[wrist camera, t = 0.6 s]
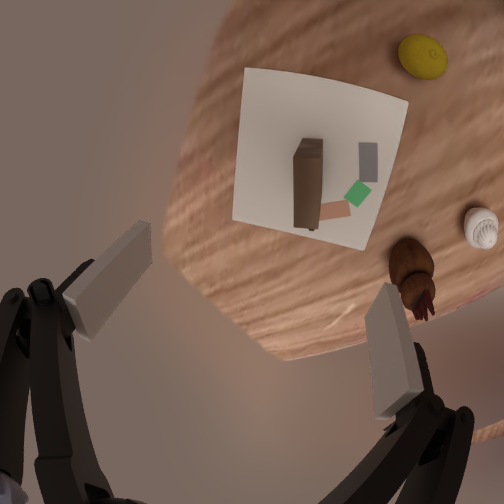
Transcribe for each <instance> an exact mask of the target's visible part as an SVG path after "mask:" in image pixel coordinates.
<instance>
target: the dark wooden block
mask: <svg viewBox="0 0 504 504" xmlns="http://www.w3.org/2000/svg"><path fill="white" fill-rule="evenodd" d="M322 177H323V139H314V138H302V140H301V142H300V144H299V146H298V148H297V150H296V152H295V154H294V156H293V200H294V228H306V229H309V231H314V230H315V229H318V226H319V217H320V208H321V198H322Z"/></svg>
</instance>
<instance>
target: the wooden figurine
mask: <svg viewBox="0 0 504 504" xmlns="http://www.w3.org/2000/svg"><path fill="white" fill-rule="evenodd" d="M433 272H434V263H433V260H432V257H431V256H430V254H429V253H428V251H427V250H426V249H425V247H424V246H422V245H421V244H420V243H419V242H418V241H416V240H412V239H408V240H404V241H402V242H400V243H399V244H398V245H396V247H395V248H394V250H393V252H392V255H391V257H390V260H389V273H390V279H391V282H392V284H393V285H396V286H397V289H398V292H400V293H401V299H402V302H403V305H404V306H405V308H407V309H408V310H411V311H412V312H413V314H414V317H415V319H416V320H419V319H420V320H423V316H424V319H425V321H428V313H427V308H428V309H429V311H430V312H431V314H432V315H433V316H434V315H435V312H434V307H433V303H432V301H433V299H434V297H435V290H436V289H435V285H434V282H433V280H432V279H431V278H432V277H433Z"/></svg>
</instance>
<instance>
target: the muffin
mask: <svg viewBox="0 0 504 504" xmlns="http://www.w3.org/2000/svg"><path fill="white" fill-rule="evenodd" d="M464 231H465V238H466V240H467V242H468V243H469V244H470V245H471V246H472V247H475V248H483V249H489V248H492V246H494V244H495V243H496V240H497V239H498V237H497V236H498V233H497V232H498V219H497V217H496V215H495V214H494V213H493V212H492V211H491V210H489V209H485V208H482V207H481V208H471V209H470V210H468V211H467V213H466V215H465V220H464Z"/></svg>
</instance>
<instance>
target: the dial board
mask: <svg viewBox="0 0 504 504" xmlns="http://www.w3.org/2000/svg"><path fill="white" fill-rule="evenodd" d="M408 103H409V102H407V101H405V100H402V99H399V98H396V97H393V96H390V95H387V94H384V93H381V92H377V91H374V90H371V89H367V88H364V87H360V86H356V85H352V84H348V83H344V82H340V81H336V80H331V79H326V78H321V77H316V76H311V75H305V74H299V73H292V72H285V71H277V70H269V69H258V68H245V71H244V81H243V91H242V102H241V113H240V124H239V135H238V147H237V159H236V172H235V185H234V199H233V213H232V220H235V221H240V222H244V223H249V224H253V225H258V226H262V227H267V228H271V229H275V230H280V231H284V232H288V233H293V234H297V235H301V236H305V237H309V238H314V239H318V240H322V241H326V242H330V243H334V244H338V245H342V246H346V247H350V248H354V249H358V250H362V251H364V250H365V247H366V245H367V242H368V239H369V237H370V234H371V231H372V229H373V226H374V223H375V220H376V218H377V215H378V212H379V209H380V206H381V203H382V200H383V197H384V194H385V191H386V188H387V184H388V181H389V178H390V175H391V171H392V168H393V164H394V161H395V157H396V154H397V150H398V146H399V142H400V138H401V134H402V130H403V126H404V122H405V117H406V113H407V108H408ZM302 138H314V139H323V177H322V198H321V208H320V217H319V226H318V229H315V230H314V231H309V229H306V228H294V200H293V156H294V154H295V152H296V150H297V148H298V146H299V144H300V142H301V140H302Z"/></svg>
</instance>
